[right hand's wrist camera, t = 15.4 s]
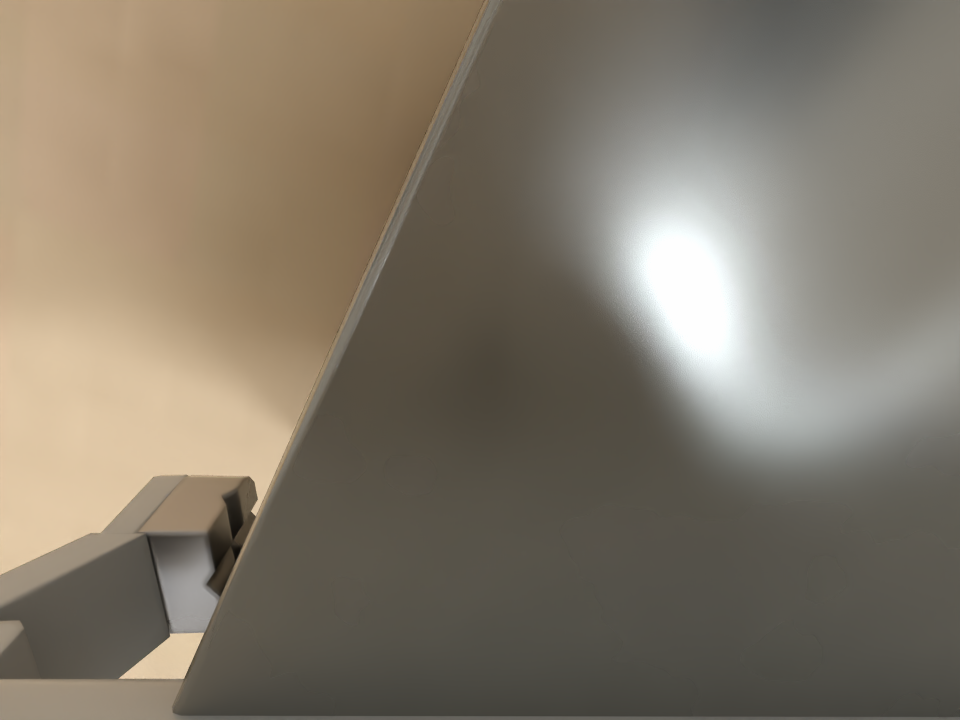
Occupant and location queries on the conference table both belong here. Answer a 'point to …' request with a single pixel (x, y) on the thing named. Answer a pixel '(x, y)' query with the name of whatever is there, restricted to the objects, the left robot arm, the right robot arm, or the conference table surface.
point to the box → (636, 388)
